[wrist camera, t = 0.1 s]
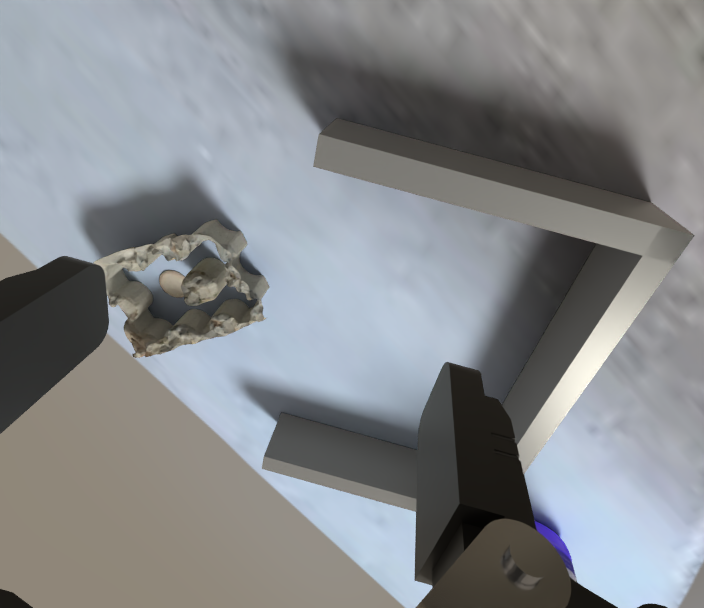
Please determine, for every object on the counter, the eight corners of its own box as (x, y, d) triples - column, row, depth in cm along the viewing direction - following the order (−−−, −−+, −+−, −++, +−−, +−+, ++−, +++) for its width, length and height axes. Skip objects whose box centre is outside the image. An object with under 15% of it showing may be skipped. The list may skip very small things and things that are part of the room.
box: (337, 118, 24) (318, 134, 20) (651, 202, 23) (694, 235, 20) (279, 424, 37) (261, 468, 33) (478, 479, 37) (483, 530, 33)
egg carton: (160, 329, 34) (129, 363, 31) (106, 243, 31) (65, 270, 27) (282, 307, 31) (263, 341, 28) (239, 208, 28) (211, 233, 24)
